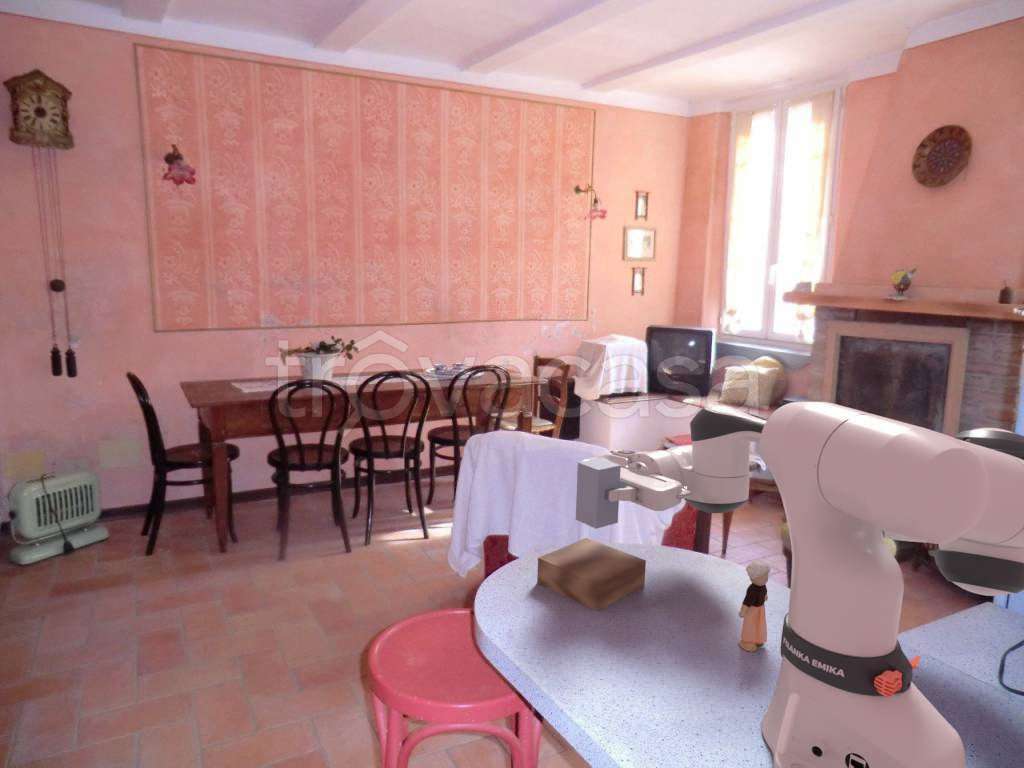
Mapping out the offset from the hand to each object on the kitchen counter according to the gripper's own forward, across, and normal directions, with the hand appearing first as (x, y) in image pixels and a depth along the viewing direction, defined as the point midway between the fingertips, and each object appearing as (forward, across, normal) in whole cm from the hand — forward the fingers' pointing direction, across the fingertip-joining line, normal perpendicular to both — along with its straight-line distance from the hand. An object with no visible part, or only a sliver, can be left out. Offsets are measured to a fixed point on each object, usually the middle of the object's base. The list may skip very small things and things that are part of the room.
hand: (593, 490), depth 114 cm
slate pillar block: (-1, 0, -6) cm, 6 cm away
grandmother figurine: (-8, -27, -17) cm, 33 cm away
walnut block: (0, 0, -17) cm, 17 cm away
